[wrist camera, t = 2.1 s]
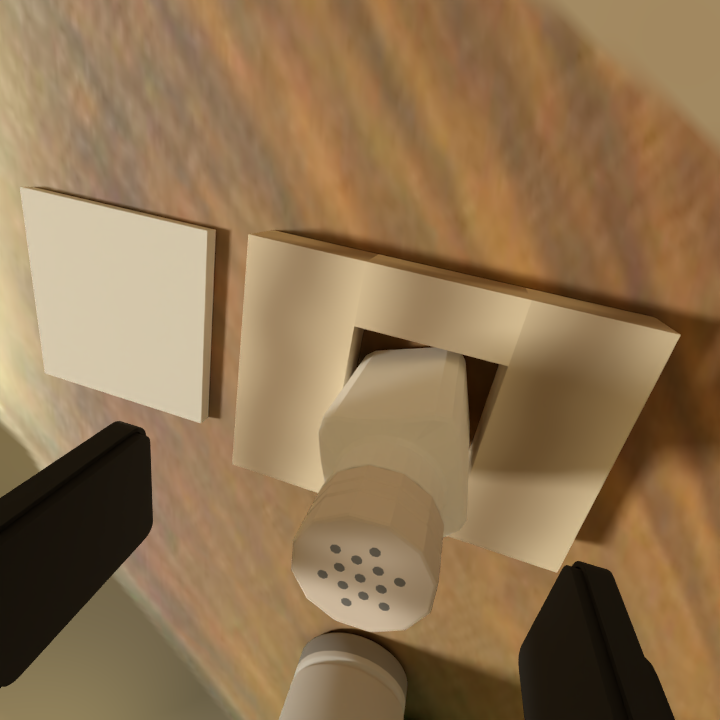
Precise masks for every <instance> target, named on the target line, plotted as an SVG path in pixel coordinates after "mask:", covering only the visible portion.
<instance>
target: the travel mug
mask: <svg viewBox="0 0 720 720" xmlns="http://www.w3.org/2000/svg"><path fill="white" fill-rule="evenodd" d="M407 685H408V683H407V677H406V675H405V672H404V670H403V668H402V666H401V665H400V663H399V662H398V660H397V659H396V658H395V657H394V656H393V655H392V654H391V653H390V652H389V651H387V650H386V649H385V648H383V647H382V646H380V645H379V644H377V643H375V642H373V641H372V640H369V639H367V638H364V637H362V636H358V635H354V634H349V633H328V634H323V635H320V636H318V637H315V638H314V639H312V640H311V641H310V642H309V643H307V645H306V646H305V647H304V649H303V652H302V655H301V657H300V660H299V663H298V666H297V669H296V672H295V675H294V678H293V680H292V683H291V686H290V689H289V692H288V695H287V698H286V701H285V703H284V706H283V709H282V712H281V715H280V718H279V720H404V717H403V715H404V710H405V702H406V694H407Z"/></svg>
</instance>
